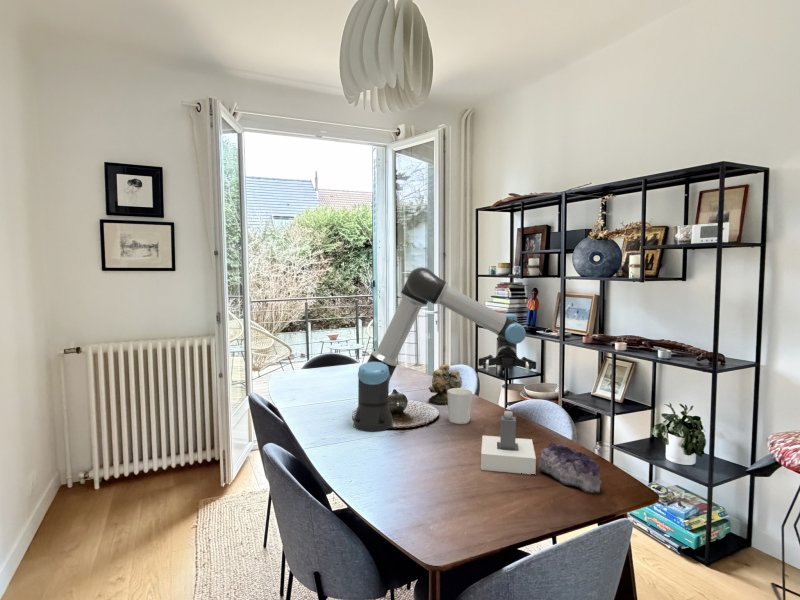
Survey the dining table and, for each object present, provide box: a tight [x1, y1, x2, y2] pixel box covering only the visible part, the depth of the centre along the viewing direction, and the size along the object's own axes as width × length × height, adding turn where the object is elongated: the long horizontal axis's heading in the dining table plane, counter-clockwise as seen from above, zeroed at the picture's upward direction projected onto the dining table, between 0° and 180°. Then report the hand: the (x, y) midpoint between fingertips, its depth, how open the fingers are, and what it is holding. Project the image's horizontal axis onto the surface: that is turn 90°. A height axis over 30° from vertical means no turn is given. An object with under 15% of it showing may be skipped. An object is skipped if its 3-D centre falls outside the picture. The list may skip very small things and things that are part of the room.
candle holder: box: [447, 387, 473, 425], centre depth 191 cm, size 10×10×12 cm
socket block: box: [480, 435, 537, 475], centre depth 151 cm, size 16×16×5 cm
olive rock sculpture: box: [428, 364, 463, 406], centre depth 218 cm, size 18×12×17 cm, turn 117°
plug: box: [499, 410, 517, 451], centre depth 151 cm, size 4×4×15 cm
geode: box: [537, 442, 602, 494], centre depth 140 cm, size 20×12×10 cm, turn 30°
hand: (507, 368), depth 164 cm, fingers open, 13 cm apart
